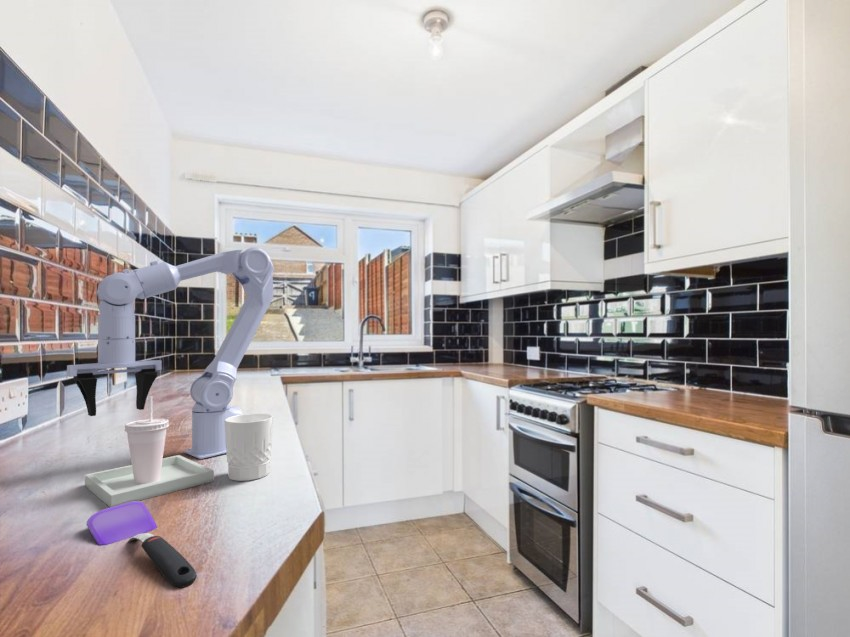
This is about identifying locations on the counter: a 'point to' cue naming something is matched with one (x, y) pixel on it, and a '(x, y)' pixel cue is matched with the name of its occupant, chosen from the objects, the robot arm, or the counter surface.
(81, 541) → the counter surface
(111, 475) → the tray
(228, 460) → the white cup
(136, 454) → the smoothie
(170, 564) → the spatula
